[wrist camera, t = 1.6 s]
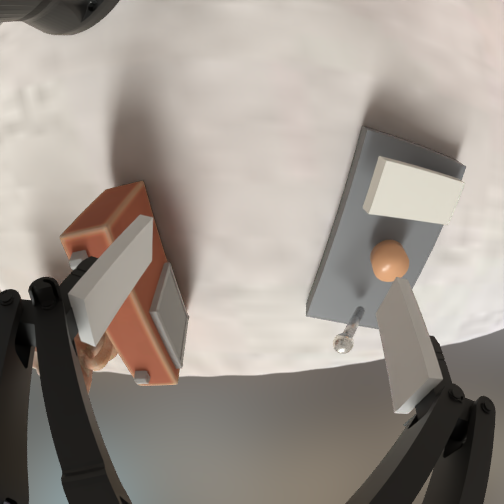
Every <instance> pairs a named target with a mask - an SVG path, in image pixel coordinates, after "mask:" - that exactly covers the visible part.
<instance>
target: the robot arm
mask: <svg viewBox="0 0 504 504" xmlns="http://www.w3.org/2000/svg"><path fill="white" fill-rule="evenodd" d="M118 1H119V0H0V22H11V21H23V22H25V23H27V24H29V25H31V26H33V27H34V28H36V29H38V30H40V31H42V32H44V33H47V34H51V35H73V34H77V33H80V32H82V31H85V30H87V29H89V28H90V27H92V26H94V25H95V24H96V23H98V22H99V21H100V20H102V19H103V18H104V17H105V16H106V15H107V14H108V13H109V12H110V11H111V10H112V9H113V8H114V6H115V5H116V4H117V3H118ZM152 238H153V217H149V216H144V215H139V216H138V217H137V218H136V219H135V220H134V221H133V222H132V223H131V224H130V225H129V226H128V227H127V228H126V229H125V230H124V231H123V233H122V234H121V235H120V236H119V237H118V238H117V239H116V240H115V241H114V242H113V243H112V244H111V245H110V246H109V247H108V248H107V250H106V251H105V252H104V253H103V254H102V255H101V256H100V257H99V258H96V257H93V256H90V257H88V258H86V259H85V260H83V261H81V263H80V264H79V265H78V266H77V267H76V269H74V270H73V271H72V272H71V274H70V275H69V276H68V277H67V278H66V279H65V280H64V281H63V282H62V283H61V285H60V286H59V285H58V282H57V281H56V280H55V279H54V278H50V277H42V278H39V279H37V280H35V281H34V282H32V284H31V285H30V286H29V290H28V292H29V295H30V298H31V300H23V299H21V297H20V295H19V293H18V292H17V291H16V290H13V289H8V290H5V291H2V292H1V293H0V504H29V486H28V470H27V424H28V422H27V421H28V405H29V393H30V382H31V374H32V366H33V359H34V352H35V347H36V349H37V358H38V366H39V373H40V379H41V386H42V392H43V397H44V402H45V407H46V412H47V417H48V421H49V425H50V430H51V434H52V438H53V441H54V445H55V448H56V452H57V455H58V459H59V462H60V465H61V468H62V477H61V481H62V485H63V489H64V492H65V494H66V497H67V500H68V502H69V504H132V502H131V500H130V499H129V496H128V495H127V493H126V491H125V489H124V488H123V486H122V484H121V482H120V480H119V478H118V475H117V473H116V471H115V469H114V466H113V464H112V461H111V459H110V456H109V454H108V451H107V449H106V446H105V443H104V441H103V438H102V435H101V433H100V430H99V427H98V424H97V421H96V418H95V415H94V412H93V409H92V406H91V402H90V399H89V395H88V392H87V389H86V385H85V381H84V377H83V374H82V370H81V366H80V362H79V357H78V353H77V348H76V344H75V340H74V338H75V336H76V335H77V333H79V336H80V339H81V341H82V342H85V343H87V344H90V345H92V346H95V347H96V345H97V344H98V342H99V340H100V339H101V337H102V336H103V334H104V332H105V331H106V329H107V328H108V326H109V324H110V323H111V321H112V320H113V318H114V317H115V315H116V314H117V312H118V310H119V309H120V307H121V306H122V304H123V303H124V301H125V300H126V298H127V297H128V295H129V294H130V292H131V291H132V289H133V288H134V286H135V285H136V283H137V282H138V280H139V279H140V277H141V276H142V275H143V273H144V272H145V270H146V269H147V267H148V266H149V264H150V263H151V262H152ZM376 318H377V322H378V327H379V331H380V336H381V341H382V346H383V351H384V356H385V360H386V365H387V372H388V377H389V383H390V389H391V395H392V402H393V409H394V413H404V414H408V413H409V412H410V411H411V410H412V409H413V408H414V407H415V408H416V414H415V415H414V416H413V417H412V418H411V419H409V420H408V421H407V422H406V423H405V424H404V426H406V425H407V424H408V425H407V426H406V428H405V429H404V431H403V432H402V434H401V435H400V436H399V438H398V439H397V441H396V442H395V444H394V445H393V446H392V448H391V449H390V450H389V452H388V453H387V455H386V456H385V457H384V458H383V460H382V461H381V462H380V464H379V465H378V466H377V467H376V469H375V470H374V471H373V472H372V474H371V475H370V476H369V477H368V479H367V480H366V481H365V482H364V483H363V485H362V486H361V487H360V488H359V489H358V490H357V491H356V493H355V494H354V495H353V496H352V497H351V498H350V499H349V500H348V502H346V504H412V502H413V501H414V499H415V498H416V496H417V494H418V493H419V491H420V490H421V488H422V487H423V485H424V483H425V482H426V480H427V478H428V477H429V475H430V473H431V471H432V470H433V473H432V476H431V479H430V482H429V485H428V488H427V491H426V494H425V498H424V500H423V503H422V504H483V502H484V497H485V493H486V488H487V482H488V477H489V471H490V465H491V457H492V449H493V440H494V428H495V406H494V404H493V402H492V401H491V400H490V399H489V398H488V397H485V396H481V397H479V399H477V400H476V401H472V400H470V399H467V398H465V395H464V393H463V391H462V389H461V388H460V387H459V386H457V385H456V384H452V381H451V378H450V375H449V372H448V368H447V365H446V362H445V361H444V356H443V354H442V350H441V347H440V344H439V343H438V342H437V340H436V339H435V337H434V336H429V333H428V331H427V328H426V325H425V322H424V320H423V317H422V314H421V311H420V309H419V306H418V304H417V301H416V299H415V296H414V294H413V291H412V289H411V286H410V284H409V281H408V280H407V279H403V278H399V277H396V278H395V280H394V282H393V284H392V286H391V288H390V289H389V291H388V293H387V295H386V297H385V298H384V300H383V302H382V304H381V305H380V307H379V309H378V311H377V312H376ZM433 468H434V469H433Z"/></svg>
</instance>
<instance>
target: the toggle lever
mask: <svg viewBox="0 0 504 504" xmlns="http://www.w3.org/2000/svg"><path fill="white" fill-rule="evenodd" d="M364 313H365V309H364V307H362V306H358V307H357V308H356V309H355V311H354V313H353V315H352V317H351V319H350V321H349V323H348V324H347V326H346V328H345V330H344V332H343V333H341V334H339V335H337V336H336V337H335V338H334V341H333V347H334V349H335V350H336V351H337V352H338V353H341V354H345V353H348V352H349V351H350V350H351V349H352V348H353V344H354V342H353V338H352V337H353V335H354V333H355V331H356V329H357V327H358V325H359V323H360V321H361V319H362V317H363V315H364Z"/></svg>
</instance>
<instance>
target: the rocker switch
mask: <svg viewBox="0 0 504 504" xmlns="http://www.w3.org/2000/svg"><path fill="white" fill-rule="evenodd" d="M464 185H465V183H464V182H462V181H461V180H459V179H458V178H455V177H452V176H449V175H446V174H443V173H439V172H436V171H433V170H430V169H426V168H423V167H419V166H416V165H412V164H409V163H405V162H401V161H398V160H394V159H390V158H386V157H382V156H379V157H378V161H377V164H376V167H375V170H374V174H373V177H372V180H371V183H370V186H369V189H368V193H367V196H366V199H365V202H364V205H363V209H364V210H365V211H366V212H367V213H368V214H372V215H380V216H388V217H395V218H403V219H410V220H417V221H424V222H430V223H437V224H443V225H448V224H449V222H450V219H451V217H452V215H453V212H454V210H455V208H456V205H457V203H458V200H459V198H460V195H461V193H462V190H463V187H464Z"/></svg>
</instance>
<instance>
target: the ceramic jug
mask: <svg viewBox="0 0 504 504" xmlns="http://www.w3.org/2000/svg"><path fill="white" fill-rule="evenodd" d="M74 340H75V344H76V348H77V353H78V357H79V362H80V366H81V370H82V374H83V377H84V381H85V385H86V389H87V392H88V393H89V390H90V386H91V381H92V371H93V370H94V371H97V370H100V369H102V368H103V367H105V365H106V364H107V363H108V361H109V360H111V359H113V358H114V357H115V356H116V355H117V353H118V352H117V351H116V349H115V347H114V346H113V344H112V342H111V340H110V339H109V337H108V335H107V334H106V332H104V334H103V336H102V337H101V339H100V340H99V342H98V344H97V345H96V347H95V346H92V345H90V344H87V343H85V342H82V341H81V339H80V336H79V333H77V335H76V336H75V338H74ZM32 367H33V368H35V369H36V370H37V373H38V374H39V376H40V373H39V366H38V358H37V349H36V347H35V352H34V359H33V366H32Z"/></svg>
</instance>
